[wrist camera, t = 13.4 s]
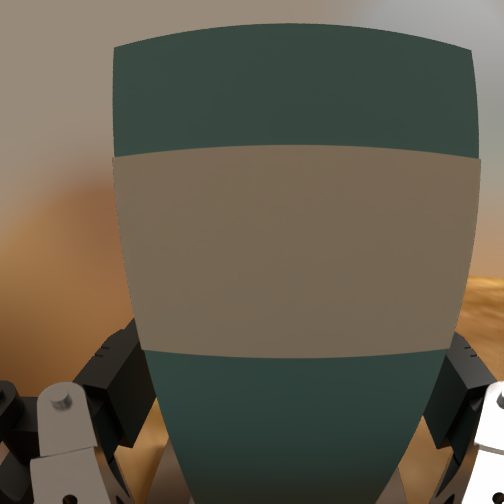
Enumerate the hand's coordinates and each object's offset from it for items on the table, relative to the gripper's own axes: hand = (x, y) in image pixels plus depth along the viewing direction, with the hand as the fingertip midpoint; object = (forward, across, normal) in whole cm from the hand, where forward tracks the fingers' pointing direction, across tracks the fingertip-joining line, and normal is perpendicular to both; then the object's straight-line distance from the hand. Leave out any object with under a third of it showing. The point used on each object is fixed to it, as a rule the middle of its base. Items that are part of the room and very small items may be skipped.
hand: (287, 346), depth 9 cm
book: (-1, 0, +13) cm, 13 cm away
